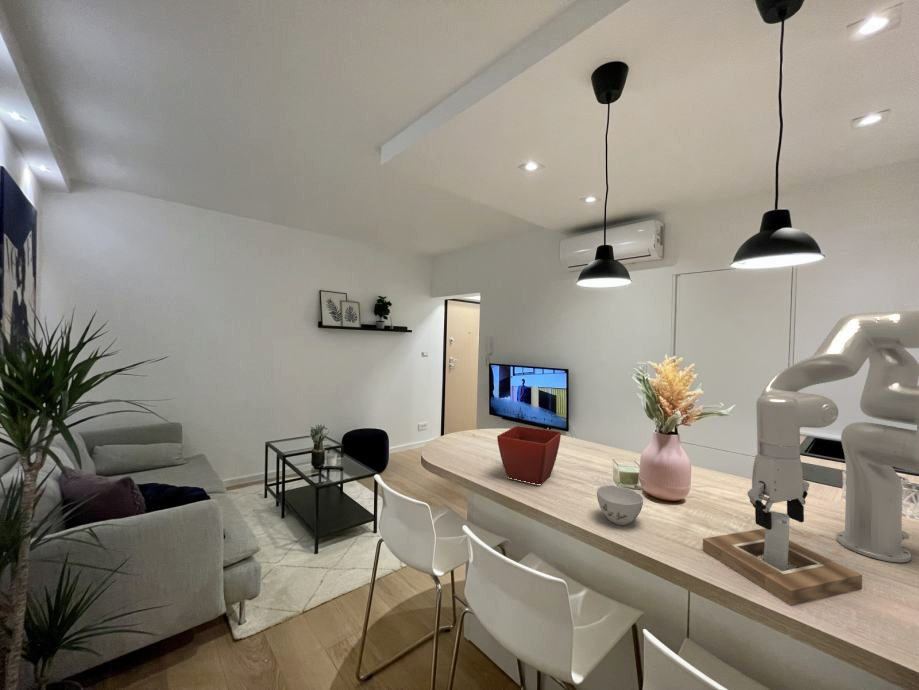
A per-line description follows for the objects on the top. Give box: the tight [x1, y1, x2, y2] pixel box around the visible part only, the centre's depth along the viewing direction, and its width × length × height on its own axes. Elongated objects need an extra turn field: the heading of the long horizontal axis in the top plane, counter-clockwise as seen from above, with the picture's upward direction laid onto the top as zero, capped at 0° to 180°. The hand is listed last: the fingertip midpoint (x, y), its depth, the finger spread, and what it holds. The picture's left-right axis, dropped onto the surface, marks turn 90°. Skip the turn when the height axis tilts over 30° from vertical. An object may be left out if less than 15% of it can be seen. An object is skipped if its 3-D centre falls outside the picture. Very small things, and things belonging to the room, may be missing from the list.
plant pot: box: [496, 425, 562, 485], centre depth 143 cm, size 19×19×17 cm
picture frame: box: [702, 528, 863, 606], centre depth 87 cm, size 20×20×3 cm
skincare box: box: [762, 510, 791, 571], centre depth 87 cm, size 6×4×12 cm
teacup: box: [596, 484, 644, 526], centre depth 110 cm, size 15×12×8 cm
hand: (779, 523), depth 87 cm, fingers open, 9 cm apart
